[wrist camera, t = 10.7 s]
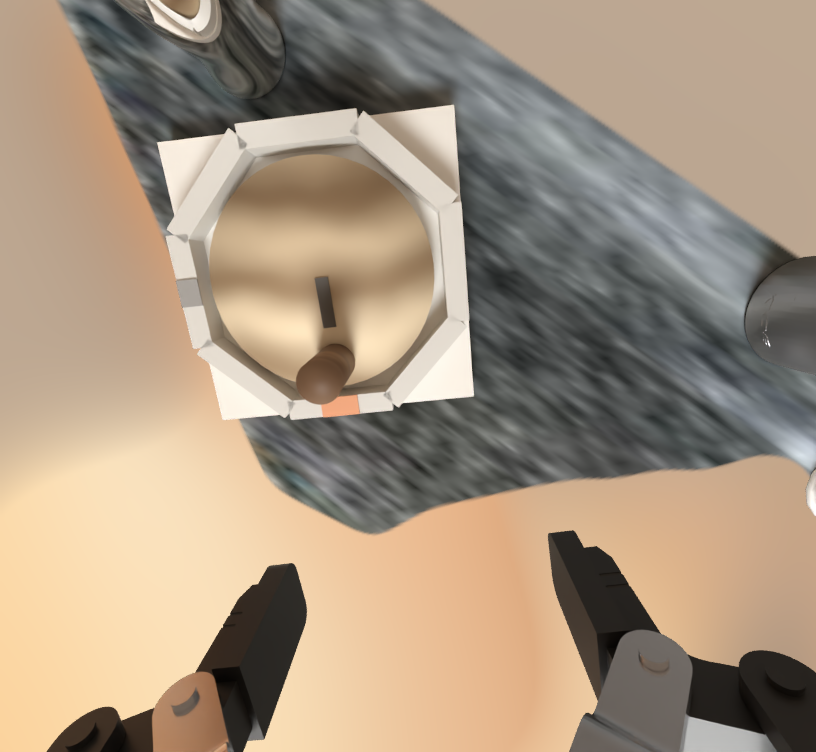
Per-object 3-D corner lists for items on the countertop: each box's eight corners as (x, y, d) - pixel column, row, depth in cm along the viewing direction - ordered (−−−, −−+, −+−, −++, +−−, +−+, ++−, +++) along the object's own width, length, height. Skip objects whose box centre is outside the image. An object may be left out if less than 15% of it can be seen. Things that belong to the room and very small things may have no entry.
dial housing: (451, 114, 31) (457, 90, 27) (470, 389, 37) (477, 405, 32) (173, 150, 32) (136, 132, 28) (232, 412, 38) (209, 430, 33)
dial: (194, 177, 30) (124, 148, 23) (419, 143, 29) (421, 103, 22) (245, 392, 35) (200, 425, 27) (444, 369, 34) (452, 396, 26)
